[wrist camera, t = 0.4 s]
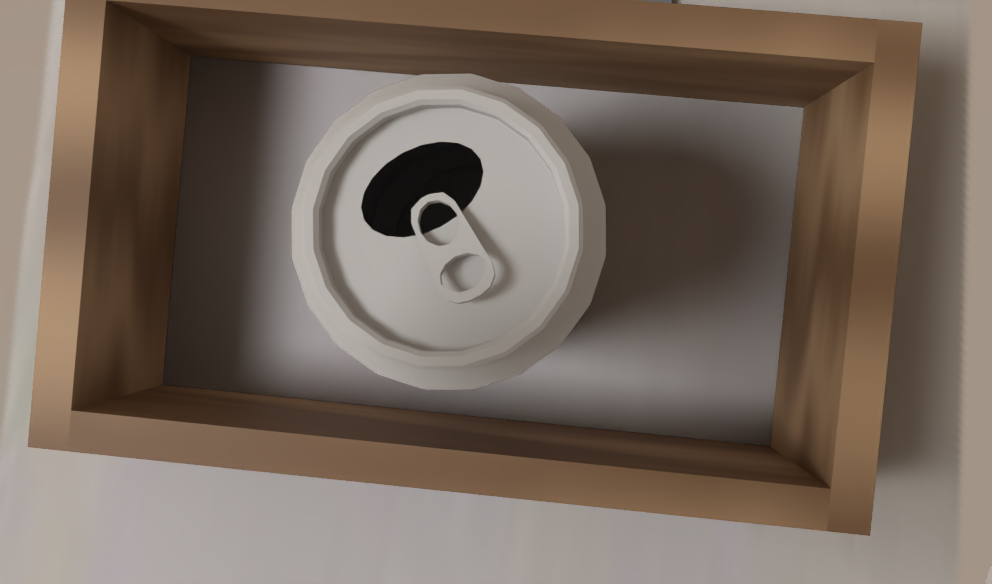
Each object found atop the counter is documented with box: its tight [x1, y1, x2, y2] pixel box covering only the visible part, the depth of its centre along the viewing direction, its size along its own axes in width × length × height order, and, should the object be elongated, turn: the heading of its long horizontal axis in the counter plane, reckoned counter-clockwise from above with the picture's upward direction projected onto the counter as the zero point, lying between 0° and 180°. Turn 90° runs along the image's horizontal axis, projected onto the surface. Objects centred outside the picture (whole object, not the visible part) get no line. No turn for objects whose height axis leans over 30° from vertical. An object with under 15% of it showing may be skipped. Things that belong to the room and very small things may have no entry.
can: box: [292, 74, 606, 390], centre depth 24 cm, size 8×8×12 cm
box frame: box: [28, 0, 922, 536], centre depth 27 cm, size 14×24×6 cm, turn 85°
